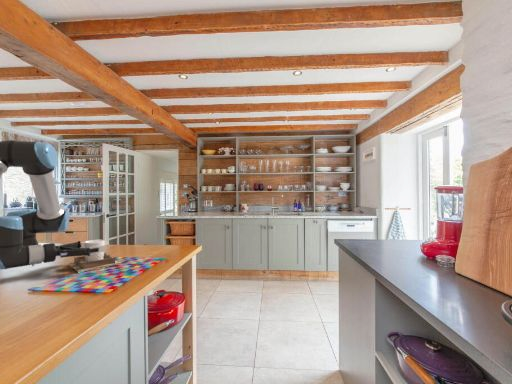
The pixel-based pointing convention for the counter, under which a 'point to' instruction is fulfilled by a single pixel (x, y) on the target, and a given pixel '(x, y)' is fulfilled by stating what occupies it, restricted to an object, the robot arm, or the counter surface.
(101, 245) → the white cup
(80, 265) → the cup holder
